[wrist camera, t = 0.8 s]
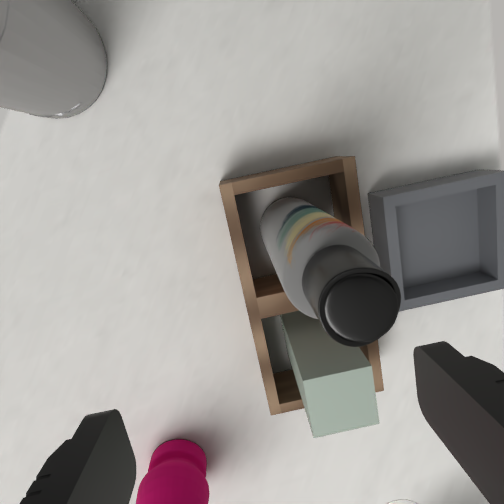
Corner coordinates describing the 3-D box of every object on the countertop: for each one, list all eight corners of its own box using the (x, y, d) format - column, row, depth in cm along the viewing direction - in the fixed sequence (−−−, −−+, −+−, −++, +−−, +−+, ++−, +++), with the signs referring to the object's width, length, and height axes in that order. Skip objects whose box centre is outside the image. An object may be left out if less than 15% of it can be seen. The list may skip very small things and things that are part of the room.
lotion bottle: (303, 262, 36) (391, 385, 17) (250, 242, 35) (278, 347, 16) (327, 209, 35) (452, 275, 15) (273, 187, 34) (333, 227, 15)
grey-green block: (279, 310, 37) (302, 380, 26) (326, 300, 37) (371, 365, 26) (287, 353, 38) (313, 438, 27) (333, 343, 39) (379, 423, 27)
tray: (367, 193, 35) (383, 197, 31) (479, 169, 35) (506, 170, 31) (380, 298, 37) (395, 312, 34) (483, 275, 38) (508, 287, 34)
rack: (220, 181, 33) (219, 185, 29) (336, 156, 34) (354, 156, 29) (265, 383, 39) (270, 415, 34) (364, 361, 39) (383, 390, 34)
